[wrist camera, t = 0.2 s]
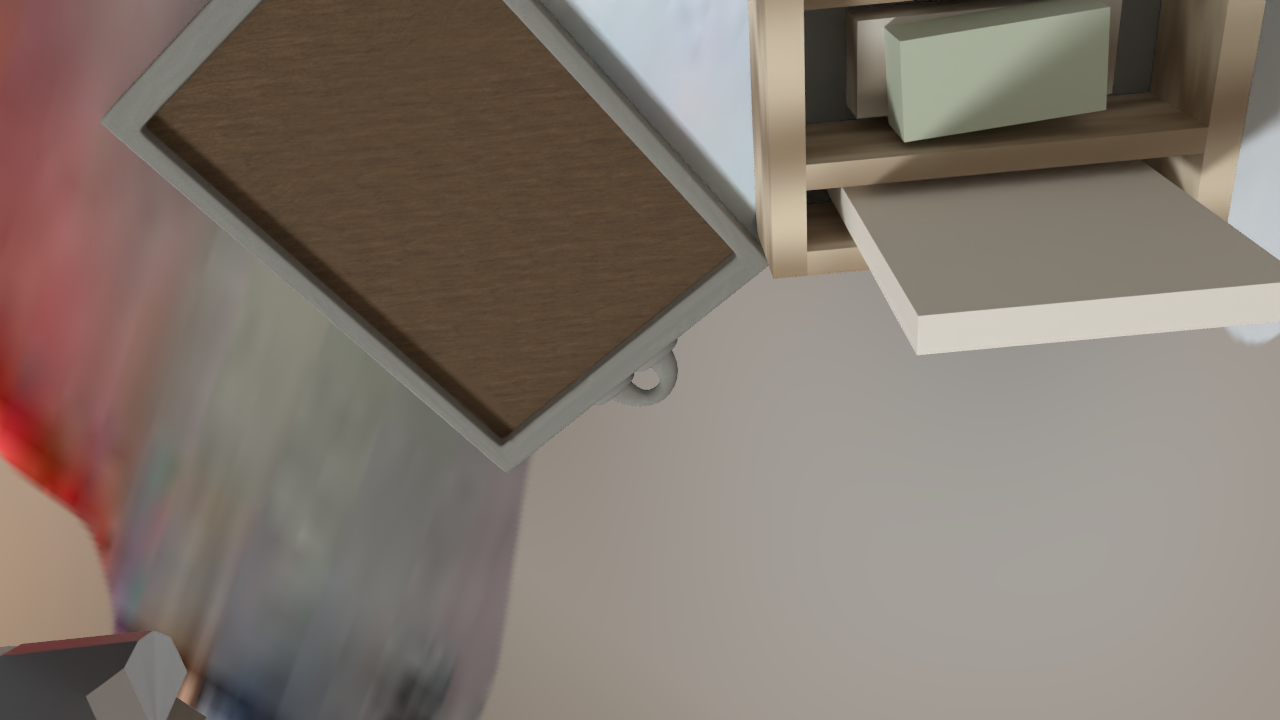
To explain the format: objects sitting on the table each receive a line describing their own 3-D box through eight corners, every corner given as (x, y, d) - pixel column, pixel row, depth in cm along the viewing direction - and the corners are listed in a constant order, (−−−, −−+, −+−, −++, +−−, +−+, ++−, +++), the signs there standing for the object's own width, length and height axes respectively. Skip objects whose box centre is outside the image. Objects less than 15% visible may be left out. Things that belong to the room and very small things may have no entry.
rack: (747, -25, 52) (765, 0, 47) (1204, -68, 52) (1274, -48, 47) (756, 231, 58) (773, 278, 53) (1166, 193, 58) (1224, 236, 53)
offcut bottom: (844, 7, 53) (857, 21, 51) (1096, -17, 53) (1123, -5, 51) (844, 101, 55) (857, 118, 53) (1087, 77, 55) (1112, 93, 53)
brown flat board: (373, -177, 47) (804, 298, 59) (379, -179, 49) (799, 285, 60) (96, 122, 53) (539, 503, 64) (109, 112, 54) (540, 487, 66)
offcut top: (883, 27, 51) (899, 41, 48) (1083, -6, 50) (1110, 6, 48) (888, 123, 53) (904, 142, 50) (1080, 92, 53) (1106, 110, 50)
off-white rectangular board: (825, 159, 56) (918, 315, 40) (1104, 133, 56) (1306, 280, 40) (825, 189, 57) (916, 355, 41) (1100, 163, 57) (1297, 319, 41)
